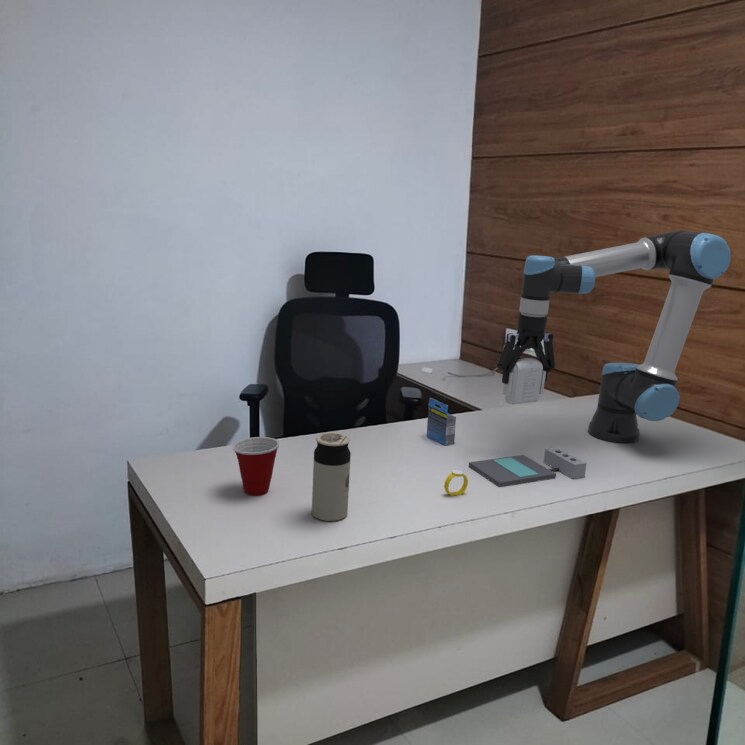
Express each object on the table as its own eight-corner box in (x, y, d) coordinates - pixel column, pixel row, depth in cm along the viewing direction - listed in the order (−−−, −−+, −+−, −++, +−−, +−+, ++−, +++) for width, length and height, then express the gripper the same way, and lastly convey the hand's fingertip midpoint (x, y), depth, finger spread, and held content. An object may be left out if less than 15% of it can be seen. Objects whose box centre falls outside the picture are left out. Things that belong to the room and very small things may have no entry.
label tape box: (454, 444, 207) (458, 403, 204) (444, 446, 204) (447, 405, 201) (435, 434, 214) (439, 395, 211) (425, 436, 211) (428, 397, 208)
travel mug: (305, 517, 156) (308, 440, 152) (320, 503, 163) (323, 429, 159) (338, 525, 154) (342, 447, 149) (352, 510, 161) (356, 435, 156)
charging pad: (522, 458, 198) (523, 454, 198) (555, 478, 186) (556, 473, 186) (468, 466, 190) (469, 461, 190) (499, 487, 178) (499, 481, 178)
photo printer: (529, 398, 200) (535, 355, 197) (540, 402, 197) (546, 359, 194) (502, 401, 195) (507, 357, 192) (513, 405, 192) (518, 361, 188)
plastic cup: (237, 480, 173) (237, 433, 170) (281, 483, 173) (282, 436, 170) (227, 499, 163) (227, 449, 160) (274, 502, 163) (275, 453, 160)
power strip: (554, 460, 198) (556, 446, 197) (584, 477, 188) (586, 462, 187) (529, 464, 194) (530, 450, 193) (558, 481, 184) (560, 466, 183)
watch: (461, 491, 175) (465, 468, 174) (467, 495, 173) (471, 472, 172) (441, 493, 172) (444, 470, 171) (447, 498, 170) (451, 474, 169)
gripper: (558, 311, 198) (547, 388, 203) (489, 311, 188) (480, 392, 194) (576, 316, 191) (564, 395, 197) (505, 317, 182) (495, 400, 187)
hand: (522, 393), depth 195 cm, fingers closed on photo printer, 10 cm apart
